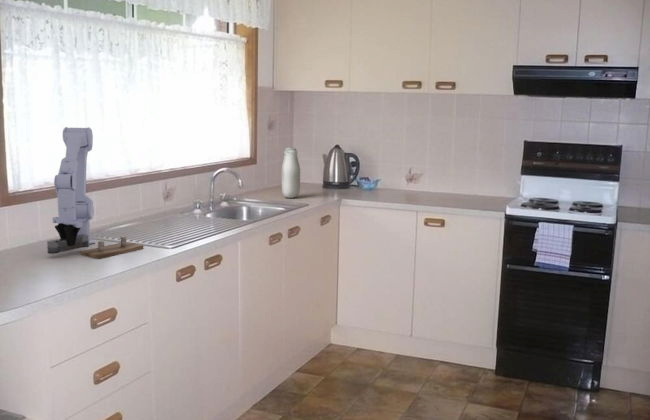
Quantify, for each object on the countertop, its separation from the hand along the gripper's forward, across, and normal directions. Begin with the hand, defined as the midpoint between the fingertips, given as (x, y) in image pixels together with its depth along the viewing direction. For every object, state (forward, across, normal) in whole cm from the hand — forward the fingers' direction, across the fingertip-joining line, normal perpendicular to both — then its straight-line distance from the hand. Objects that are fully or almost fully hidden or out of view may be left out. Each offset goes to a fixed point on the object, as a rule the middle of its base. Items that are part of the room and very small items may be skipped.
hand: (68, 244), depth 247 cm
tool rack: (+3, +9, +12) cm, 15 cm away
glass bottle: (+4, -18, +155) cm, 156 cm away
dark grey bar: (+2, 0, 0) cm, 2 cm away
